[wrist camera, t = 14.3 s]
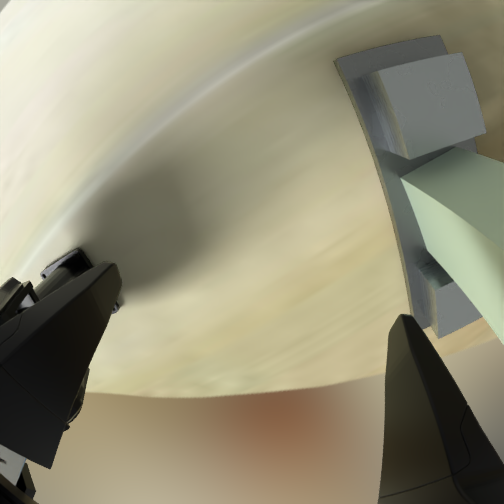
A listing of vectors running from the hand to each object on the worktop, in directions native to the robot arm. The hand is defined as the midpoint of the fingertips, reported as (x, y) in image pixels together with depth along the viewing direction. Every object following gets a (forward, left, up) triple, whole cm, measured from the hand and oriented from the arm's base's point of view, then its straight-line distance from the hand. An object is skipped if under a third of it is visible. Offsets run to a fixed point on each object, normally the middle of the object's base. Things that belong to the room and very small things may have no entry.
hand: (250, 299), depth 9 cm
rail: (+12, -5, -12) cm, 17 cm away
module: (+12, -5, -11) cm, 17 cm away
